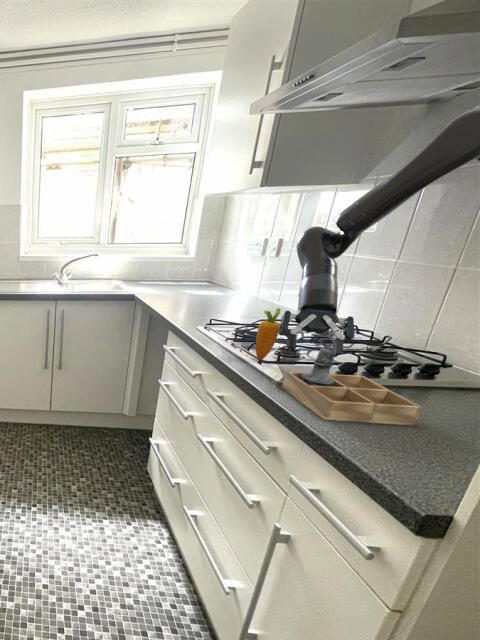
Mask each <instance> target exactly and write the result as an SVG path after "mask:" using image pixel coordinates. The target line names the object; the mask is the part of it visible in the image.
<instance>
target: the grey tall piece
mask: <svg viewBox="0 0 480 640" xmlns="http://www.w3.org/2000/svg"><path fill="white" fill-rule="evenodd" d="M332 347H333V343H331V342H330V343H329V344H328V345H327V346H323V347H320V349H319V351H318V354H317V357H316V359H314V360H313V363H314V364H313V365H312V368H311V370H310V371H309V372H307V373H308V374H303V375H302V381H304V382H305V383H307V384H308V385H312V386H331V384H333V383H334V381H333V380H332V379H330V378H329V377H328V375H329V374H330V370H331V369H332V367H333V366H334V363H333V361H334V359H335V357H334V356H335V354H336V350H335V349H334V348H332Z"/></svg>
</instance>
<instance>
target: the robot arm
mask: <svg viewBox="0 0 480 640" xmlns="http://www.w3.org/2000/svg"><path fill="white" fill-rule="evenodd" d="M473 161H476V162H478V163H480V104H478V105H475V106H473V107H471V108H469V109H467V110H466V111H464V112H463V113H460V114H459V115H458V116H456V117H455V118H453V119H452V120H451V121H450V122H448V124H446V125H445V127H444V128H443V129H442V130H441V131H440V132H439V133H438V134H437V135H436V136H435V137H434V138H433V139H432V140H431V141H430V142H429V143H428V144H427V145H426V146H425V147H424V148H423V149H422V150H421V151H420V152H419V153H418V154H416V155H415V156H414V157H413V158H412V159H411V160H410V161H408V162H407V163H405V165H404V166H402V167H401V168H400V169H398V170H397V171H396V172H395V173H393V174H391V175H390V176H389V177H388V178H386V179H385V180H382V182H380V183H379V184H377V185H376V186H374V187H373V188H372V189H369V191H367V192H366V193H365V194H363V195H362V196H361V197H359V198H358V199H357V200H355V201H353V202H352V203H351V204H350V205H348V206H347V207H346V208H345V209H343V210H342V211H341V212H340V213H339V214H338V215H336V218H335V225H336V227H337V228H338V229H339V231H338V232H335V231H333V230H330V229H328V228H325V227H322V226H312V227H309V228H307V229H306V230H304V231H303V232H302V233H301V234H300V236H299V237H298V239H297V242H296V254H297V258H298V262H299V265H300V267H301V270H302V272H301V282H300V286H299V291H298V303H297V313H292V312H291V310H285V311H284V312H283V314H282V316H281V318H280V322H279V324H280V329H279V333H278V336H280V337H281V336H284V337H285V338H286V349H287V350H288V351H289V352H290V353H291V352H292V353H293V352H294V351H295V350H296V349H297V341H298V340H297V339H298V334H300V333H301V332H303V331H305V332H306V333H309V334H310V333H315V334H320V335H321V334H323V335H324V336H326V338H328V339H330V340H331V341H332V346H331V347H332V348H334V349H335V350H336V354H335V356H334V358H337V357H338V356H340V355H341V354H342V353H343V351H344V344H349V343H350V342H351V341H352V340H353V339H354V338H355V321H354V319H355V318H354V316H351V315H350V316H348V317H339V316H338V315H337V312H338V296H339V295H338V293H339V284H338V273H339V272H338V269H339V265H338V262H337V261H336V259H338V258H340V257H341V256H342V255H343V254H344V253H345V252H346V251H347V250H348V249H349V248H350V247H351V246H352V244H353V243H355V241H356V240H358V238H359V237H360V236H361V235H362V234H363V233H364V232H365V231H367V230H368V229H370V228H372V227H374V226H375V225H376V224H377V223H379V222H380V221H382V220H383V219H384V218H386V217H387V216H389V215H390V214H391V213H393V212H395V211H396V210H397V209H398V208H400V207H401V206H402V205H403V204H405V203H407V201H408V200H410V199H411V198H412V197H414V196H415V195H417V194H418V193H419V192H421V191H422V190H424V189H425V188H427V187H428V186H430V185H431V184H433V183H434V182H436V181H438V180H439V179H441V178H443V177H445V176H446V175H448V174H450V173H452V172H454V171H455V170H458V169H459V168H461V167H463V166H465V165H467V164H469V163H471V162H473ZM293 320H294V321H295V322H296V323H297V325H296V326H295V327H294V328H292V329H289V324H290V323H291V322H292V321H293ZM336 324H339V326H340V328H341V329H342V332H341V331H340V328H339V327H338V326H337V325H336Z"/></svg>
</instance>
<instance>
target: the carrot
mask: <svg viewBox="0 0 480 640" xmlns="http://www.w3.org/2000/svg"><path fill="white" fill-rule="evenodd" d="M263 313H264V314H265V315H266V317H267V320H262V321H261V322H260V323H259V326H258V330H257V334H256V339H255V340H256V342H255V356H256V358H257V361H258V362H261V361H263V360H264V359H265V358H266V357H267V356H268V354H269V353H270V352H271V350H272V348H273V347H274V345H275V343H276V341H277V338H278V336H279V329H280V322H278V321H276V320H277V319H278V317H279V315H280V314H281V308H279V307H277V308H276V309H275V311H274V314H272V312H271V310H264V311H263Z"/></svg>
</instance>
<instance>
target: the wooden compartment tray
mask: <svg viewBox="0 0 480 640" xmlns="http://www.w3.org/2000/svg"><path fill="white" fill-rule="evenodd" d="M308 373H309V372H297V371H286V373H285V375H284V378H283V381H282V384H281V388H282V389H283V390H284V391H285V392H287V393H288V394H289V395H291V396H292V397H293V398H294V399H296V400H297V401H299V402H300V403H301V404H302V405H304V406H305V407H306V408H308V409H309V410H311V411H312V412H313V413H314V414H316V415H317V416H319V417H320V418H321V419H323V420H325V421H338V422H354V423H355V422H356V423H367V424H368V423H370V424H384V425H397V426H399V425H400V426H415V424H416V423H417V420H418V419H419V417H420V414H421V412H422V410H423V408H424V407H422V406H421V405H418V404H417V403H415V402H413V401H411V400H410V399H407V398H406V397H404V396H402V395H400V394H398V393H397V392H394V391H393V390H391V389H389V388H388V387H385V386H383V385H381V384H379V383H378V382H376V381H374V380H372V379H370V378H368V377H366V376H364V375H353V374H352V375H351V374H336V373H334V374H332V373H329V375H328V377H329V378H330V379H332V380H333V381H334V383H333V384H331V386H312V385H308V384H307V383H305V382H304V381H302V375H303V374H308Z"/></svg>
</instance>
